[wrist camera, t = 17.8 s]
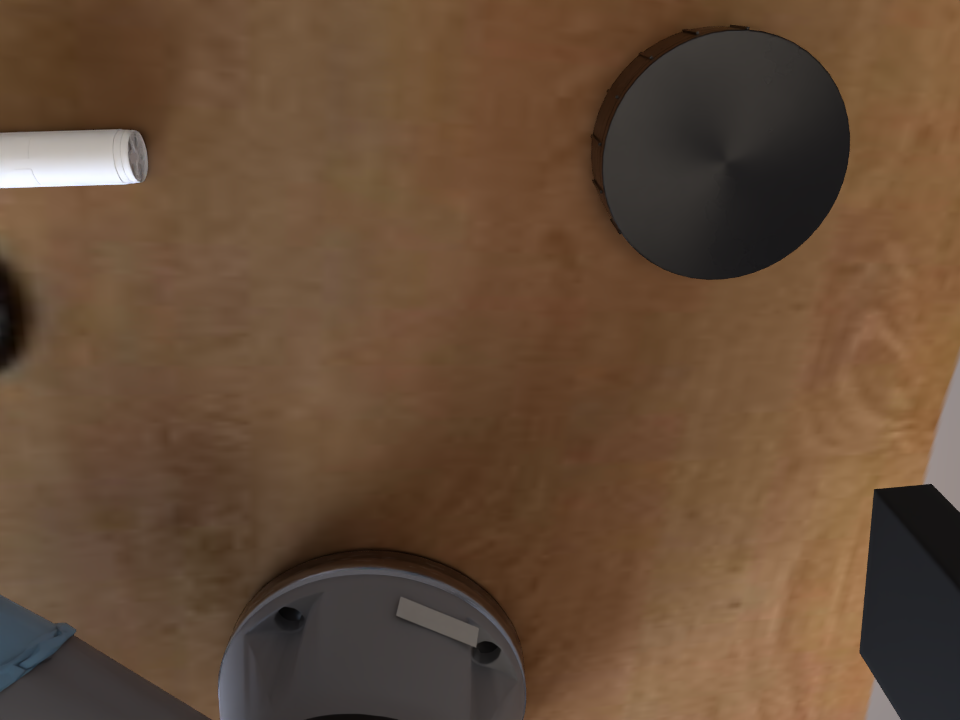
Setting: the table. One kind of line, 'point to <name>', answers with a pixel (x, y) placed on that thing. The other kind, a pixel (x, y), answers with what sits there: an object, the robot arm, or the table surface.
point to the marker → (72, 158)
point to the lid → (720, 151)
